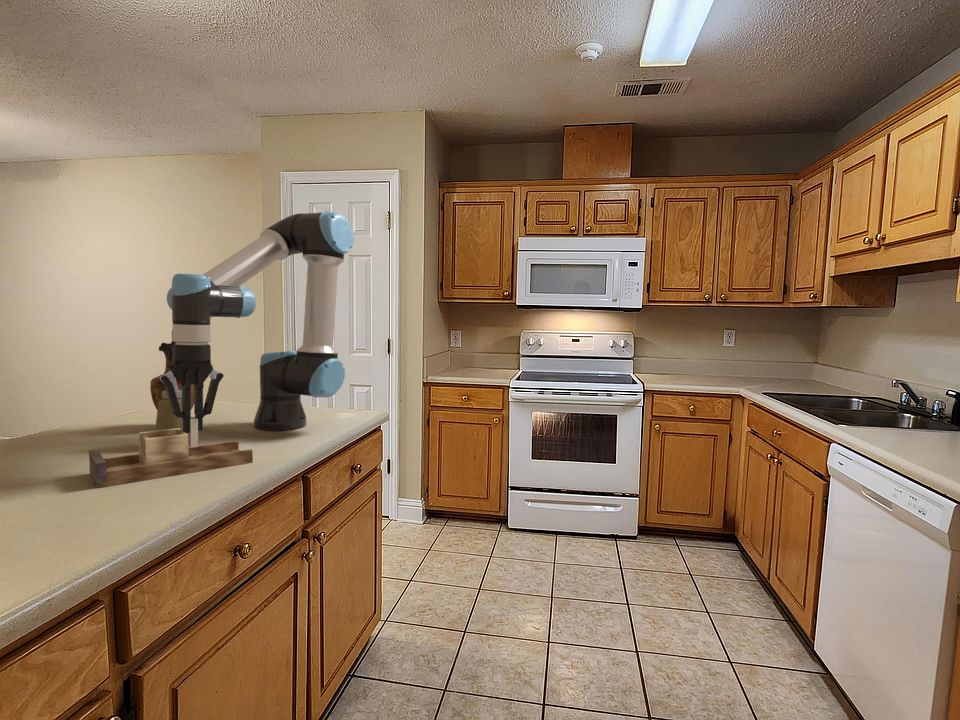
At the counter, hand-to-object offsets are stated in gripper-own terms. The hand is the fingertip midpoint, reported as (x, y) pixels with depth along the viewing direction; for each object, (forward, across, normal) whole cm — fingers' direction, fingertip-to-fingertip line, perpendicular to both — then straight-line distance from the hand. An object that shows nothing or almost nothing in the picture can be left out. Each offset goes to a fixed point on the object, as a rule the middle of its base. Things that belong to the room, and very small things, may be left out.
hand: (192, 445), depth 120 cm
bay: (+5, +4, 0) cm, 6 cm away
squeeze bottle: (+5, 0, -20) cm, 21 cm away
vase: (+5, -6, -41) cm, 42 cm away
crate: (+3, +6, 0) cm, 7 cm away
